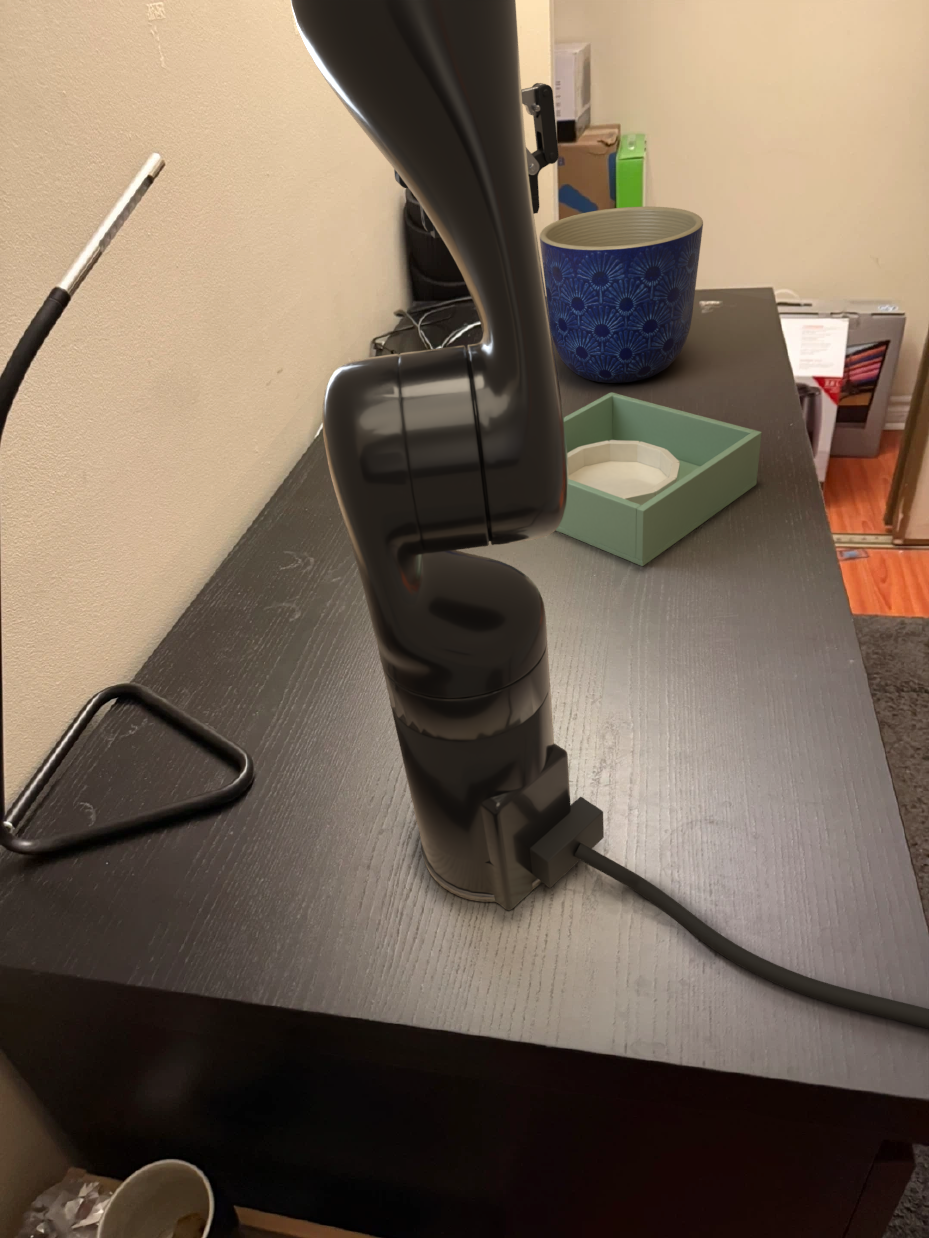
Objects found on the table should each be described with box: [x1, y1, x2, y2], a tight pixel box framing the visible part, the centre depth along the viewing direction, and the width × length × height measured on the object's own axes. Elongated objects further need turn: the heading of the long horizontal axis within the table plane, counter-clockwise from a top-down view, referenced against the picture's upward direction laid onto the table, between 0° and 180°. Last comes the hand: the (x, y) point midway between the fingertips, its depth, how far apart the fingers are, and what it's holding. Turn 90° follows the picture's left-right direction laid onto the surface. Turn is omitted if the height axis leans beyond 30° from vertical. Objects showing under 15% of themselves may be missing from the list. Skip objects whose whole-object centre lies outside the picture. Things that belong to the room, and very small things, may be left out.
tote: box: [555, 391, 763, 567], centre depth 89 cm, size 20×20×6 cm
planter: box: [539, 206, 704, 384], centre depth 114 cm, size 21×21×19 cm
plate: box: [567, 440, 680, 505], centre depth 90 cm, size 13×13×3 cm
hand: (482, 228), depth 77 cm, fingers open, 8 cm apart
